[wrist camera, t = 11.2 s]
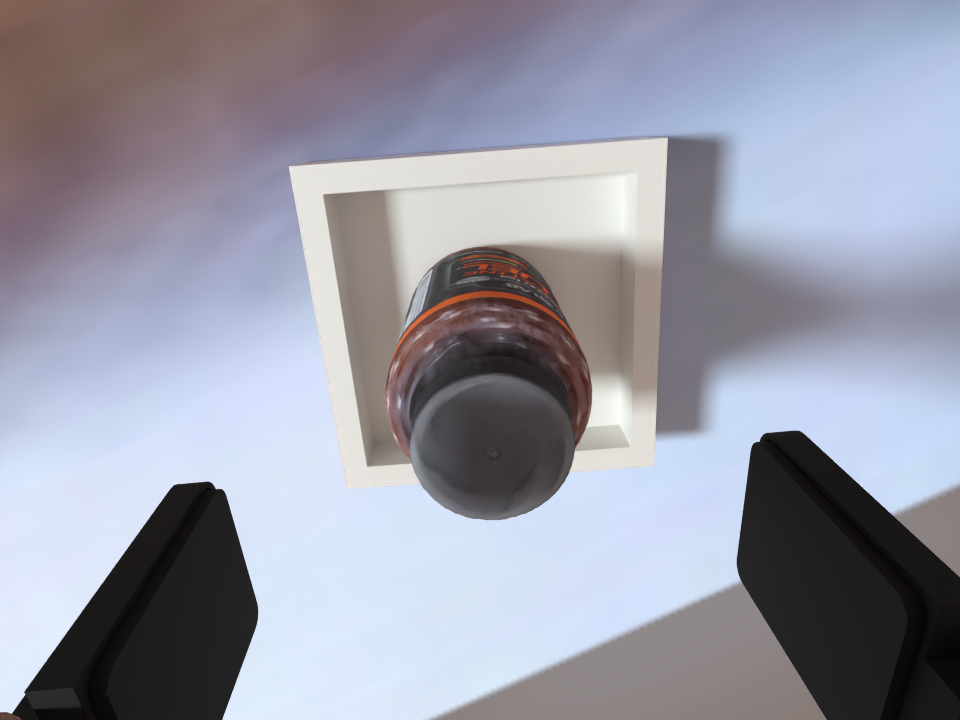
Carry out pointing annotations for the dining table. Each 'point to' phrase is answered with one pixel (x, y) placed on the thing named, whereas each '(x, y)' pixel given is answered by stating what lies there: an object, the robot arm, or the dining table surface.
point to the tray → (498, 224)
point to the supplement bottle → (487, 386)
